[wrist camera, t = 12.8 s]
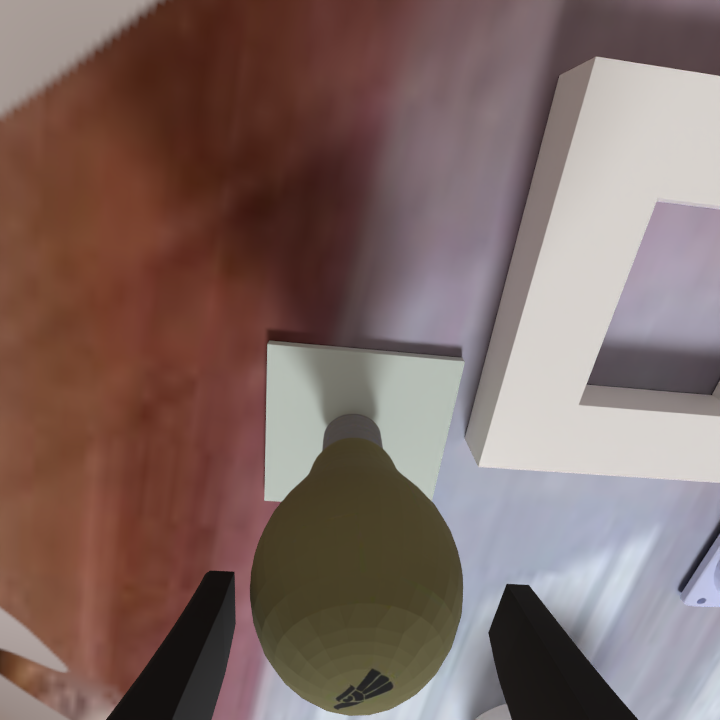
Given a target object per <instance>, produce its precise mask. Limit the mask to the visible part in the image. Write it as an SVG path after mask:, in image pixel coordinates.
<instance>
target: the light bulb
mask: <svg viewBox="0 0 720 720" xmlns="http://www.w3.org/2000/svg"><path fill="white" fill-rule="evenodd" d="M250 601H251V608H252V615H253V623H254V626H255V629H256V632H257V636H258V638H259V641H260V643H261V646H262V648H263V651H264V654H265V656H266V657H267V659H268V660H269V662H270V663H271V665H272V666H273V668H274V669H275V671H276V672H277V673H278V675H279V676H280V677H281V679H282V680H283V681H284V683H285V684H286V685H287V686H289V687H290V688H291V689H292V690H293V691H294V692H296V693H297V694H298V695H299V696H300V697H301V698H303V699H305V700H307V701H308V702H310V703H312V704H314V705H316V706H318V707H320V708H322V709H324V710H326V711H329V712H334V713H339V714H344V715H349V716H353V715H371V714H375V713H379V712H383V711H386V710H389V709H392V708H394V707H396V706H397V705H399V704H401V703H403V702H404V701H406V700H408V699H410V698H411V697H413V696H414V695H416V694H417V693H418V692H419V691H420V690H421V689H422V688H423V687H424V686H425V685H426V684H427V683H428V682H429V681H430V680H431V679H432V678H433V677H434V676H435V674H436V673H437V672H438V670H439V668H440V666H441V665H442V663H443V661H444V660H445V658H446V656H447V655H448V653H449V651H450V649H451V648H452V644H453V641H454V638H455V635H456V632H457V628H458V625H459V622H460V618H461V613H462V602H463V575H462V568H461V563H460V559H459V554H458V550H457V547H456V545H455V542H454V539H453V537H452V534H451V531H450V529H449V527H448V526H447V524H446V522H445V521H444V519H443V517H442V516H441V514H440V513H439V511H438V509H437V508H436V506H435V505H434V503H433V502H432V501H431V500H430V499H429V498H428V497H427V496H426V495H425V494H424V493H423V492H422V491H421V490H420V489H419V488H418V487H417V486H416V485H415V484H414V483H412V482H411V481H410V480H409V479H407V478H406V477H405V476H403V475H402V474H401V473H400V472H399V471H398V470H397V469H396V467H395V465H394V463H393V461H392V459H391V458H390V456H389V455H388V454H387V453H386V451H385V450H384V449H383V446H382V439H381V433H380V430H379V428H378V426H377V424H376V423H375V422H374V421H373V420H372V419H370V418H368V417H366V416H364V415H361V414H346V415H342V416H339V417H337V418H336V419H334V420H333V421H331V422H330V423H329V425H328V426H327V428H326V429H325V432H324V438H323V448H322V452H321V453H320V454H319V455H318V456H317V458H316V460H315V461H314V463H313V465H312V468H311V470H310V472H309V474H308V475H307V477H305V478H304V479H303V480H302V481H301V482H300V483H299V484H298V485H297V486H296V487H295V488H294V489H292V490H291V491H290V492H289V494H288V495H287V496H286V497H285V498H284V500H283V501H282V502H281V503H280V505H279V506H278V507H277V508H276V510H275V511H274V513H273V514H272V516H271V518H270V520H269V521H268V523H267V525H266V527H265V529H264V531H263V533H262V536H261V538H260V540H259V543H258V546H257V549H256V552H255V555H254V560H253V566H252V571H251V582H250Z"/></svg>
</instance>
